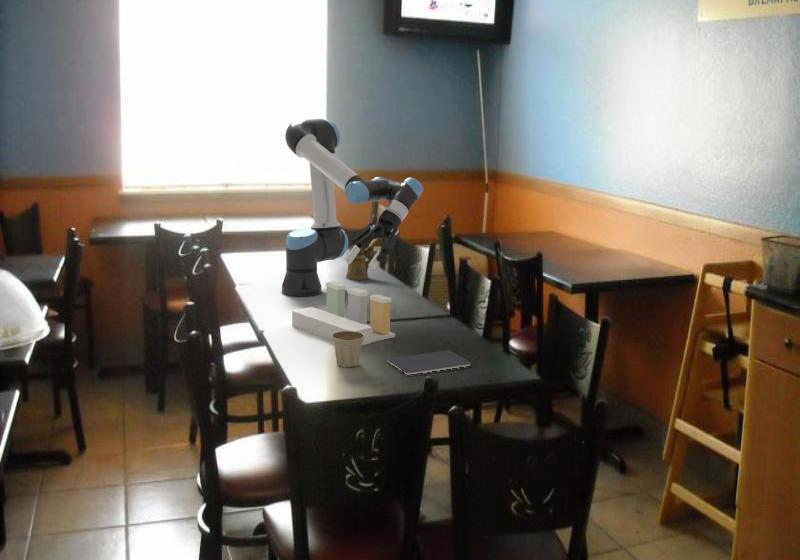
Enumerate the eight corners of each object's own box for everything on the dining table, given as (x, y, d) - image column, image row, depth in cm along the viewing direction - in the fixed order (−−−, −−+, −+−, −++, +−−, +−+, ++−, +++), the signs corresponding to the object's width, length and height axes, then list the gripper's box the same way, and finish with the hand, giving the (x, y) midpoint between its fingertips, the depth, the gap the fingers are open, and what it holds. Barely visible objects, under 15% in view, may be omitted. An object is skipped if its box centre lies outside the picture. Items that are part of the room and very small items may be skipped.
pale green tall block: (333, 313, 279) (333, 281, 276) (345, 317, 274) (345, 284, 272) (325, 314, 276) (325, 282, 274) (337, 319, 272) (338, 286, 269)
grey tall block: (354, 320, 271) (355, 287, 268) (367, 324, 267) (368, 291, 264) (346, 322, 269) (347, 289, 266) (359, 326, 264) (360, 292, 262)
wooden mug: (379, 280, 336) (381, 236, 331) (347, 280, 333) (347, 236, 329) (377, 275, 344) (378, 232, 340) (345, 275, 342) (345, 232, 338)
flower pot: (331, 358, 237) (331, 330, 235) (363, 359, 237) (364, 330, 236) (331, 369, 228) (331, 340, 226) (364, 369, 228) (365, 340, 226)
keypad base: (334, 316, 280) (334, 302, 279) (395, 336, 260) (395, 321, 258) (292, 325, 268) (292, 310, 267) (352, 347, 247) (352, 331, 246)
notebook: (449, 355, 245) (386, 363, 236) (449, 350, 245) (386, 358, 235) (472, 368, 234) (406, 377, 225) (472, 362, 234) (406, 372, 224)
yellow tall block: (376, 327, 263) (377, 294, 261) (390, 332, 259) (391, 298, 256) (369, 329, 261) (369, 295, 258) (382, 334, 257) (383, 299, 254)
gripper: (422, 227, 280) (388, 277, 273) (375, 218, 296) (342, 265, 289) (411, 213, 275) (377, 264, 268) (364, 205, 291) (330, 252, 284)
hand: (358, 264), depth 278 cm, fingers open, 11 cm apart
